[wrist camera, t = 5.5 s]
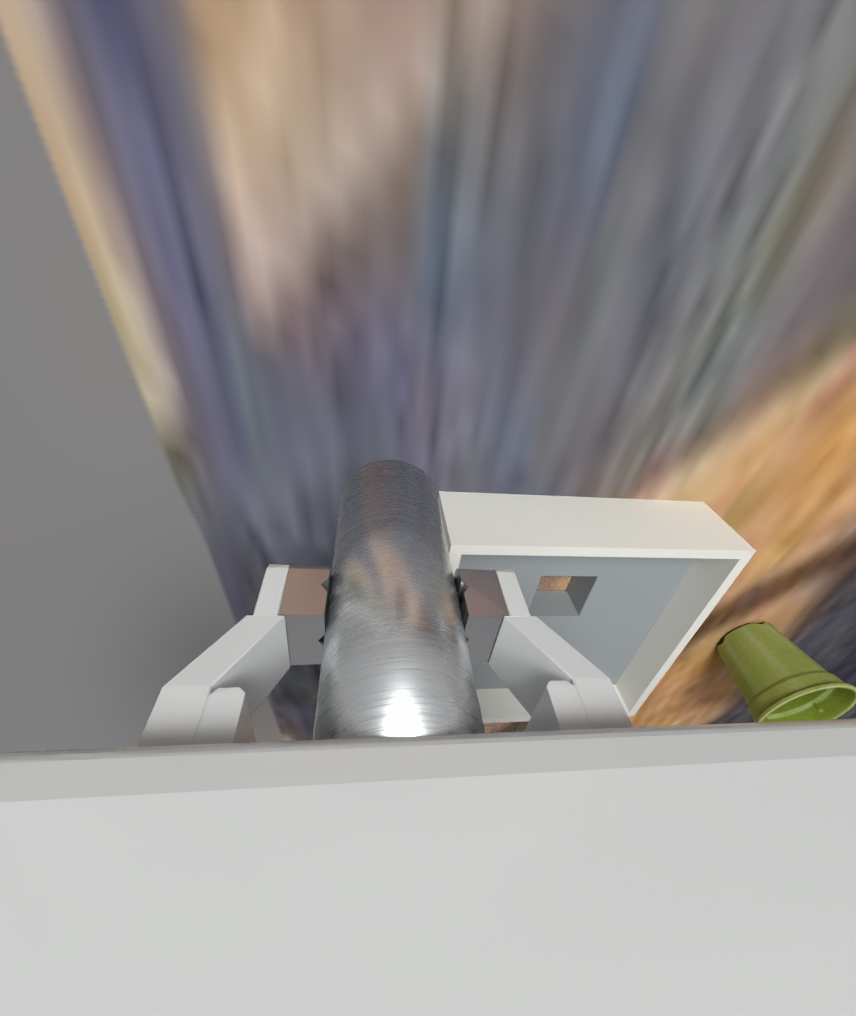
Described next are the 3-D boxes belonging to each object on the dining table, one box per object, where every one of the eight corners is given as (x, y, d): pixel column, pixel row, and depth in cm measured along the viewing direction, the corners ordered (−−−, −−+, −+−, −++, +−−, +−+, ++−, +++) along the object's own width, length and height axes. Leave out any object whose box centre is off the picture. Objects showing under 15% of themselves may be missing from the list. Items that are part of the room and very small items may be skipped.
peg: (443, 463, 14) (540, 852, 6) (430, 540, 16) (490, 917, 7) (340, 457, 13) (285, 873, 5) (339, 537, 15) (299, 936, 7)
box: (703, 501, 35) (756, 550, 31) (607, 663, 48) (633, 716, 43) (438, 491, 32) (451, 544, 27) (410, 668, 45) (415, 726, 40)
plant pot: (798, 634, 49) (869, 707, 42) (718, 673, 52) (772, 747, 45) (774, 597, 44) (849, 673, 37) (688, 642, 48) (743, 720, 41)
